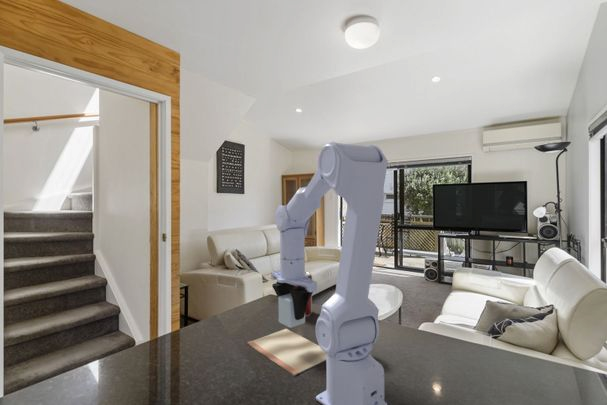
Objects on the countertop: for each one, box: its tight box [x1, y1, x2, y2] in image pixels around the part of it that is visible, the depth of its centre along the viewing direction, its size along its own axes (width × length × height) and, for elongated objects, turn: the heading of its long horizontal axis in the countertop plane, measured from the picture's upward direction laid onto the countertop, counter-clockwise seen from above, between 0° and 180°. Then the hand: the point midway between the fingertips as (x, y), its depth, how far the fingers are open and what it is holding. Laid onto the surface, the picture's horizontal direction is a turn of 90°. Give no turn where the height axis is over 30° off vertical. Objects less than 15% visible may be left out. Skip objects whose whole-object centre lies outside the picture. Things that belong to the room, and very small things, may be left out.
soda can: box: [293, 271, 313, 318], centre depth 94 cm, size 7×7×12 cm
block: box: [277, 294, 306, 329], centre depth 73 cm, size 4×4×6 cm
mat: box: [246, 328, 326, 377], centre depth 72 cm, size 18×12×1 cm, turn 41°
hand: (292, 315), depth 73 cm, fingers closed on block, 4 cm apart
